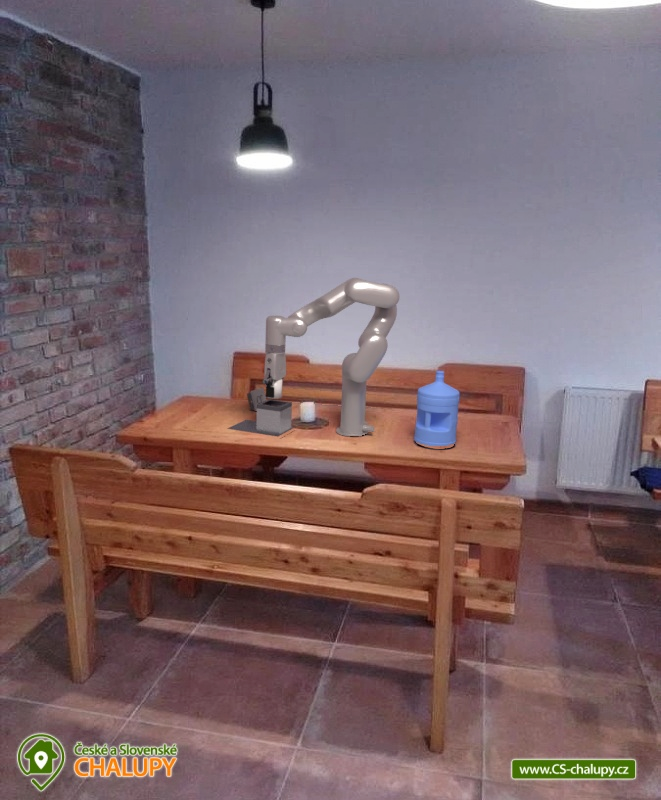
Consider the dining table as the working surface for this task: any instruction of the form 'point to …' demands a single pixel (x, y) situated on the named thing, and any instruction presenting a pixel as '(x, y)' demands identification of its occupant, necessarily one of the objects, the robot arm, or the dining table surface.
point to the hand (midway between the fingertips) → (274, 395)
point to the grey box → (269, 419)
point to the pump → (276, 389)
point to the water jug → (437, 413)
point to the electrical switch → (256, 398)
